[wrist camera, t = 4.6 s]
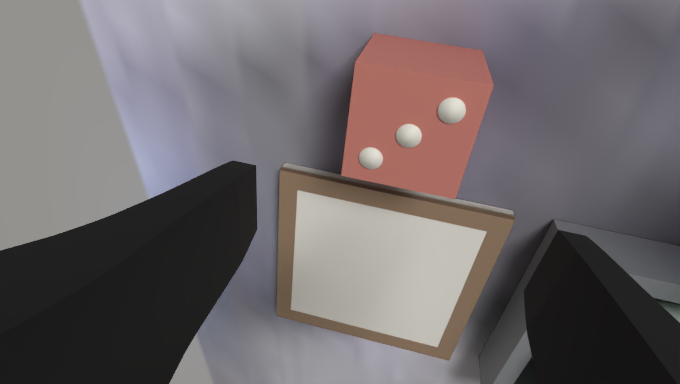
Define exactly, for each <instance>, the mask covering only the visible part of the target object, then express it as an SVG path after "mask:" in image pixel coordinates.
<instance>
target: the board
mask: <svg viewBox="0 0 680 384" xmlns="http://www.w3.org/2000/svg"><path fill="white" fill-rule="evenodd" d="M514 222H515V218H514V214H513V211H512V210H507V209H502V208H498V207H493V206H488V205H483V204H479V203H474V202H469V201H464V200H460V199H451V198H446V197H441V196H436V195H432V194H427V193H422V192H417V191H412V190H408V189H403V188H398V187H393V186H388V185H384V184H379V183H374V182H369V181H364V180H359V179H355V178H350V177H345V176H341V174H336V173H332V172H327V171H322V170H317V169H313V168H308V167H303V166H299V165H294V164H289V163H284V165H283V166H282V168H281V169H280V182H279V225H278V269H277V312H276V316H279V317H283V318H287V319H290V320H294V321H298V322H302V323H306V324H310V325H314V326H317V327H321V328H325V329H329V330H333V331H337V332H341V333H344V334H348V335H352V336H356V337H360V338H364V339H368V340H371V341H375V342H379V343H383V344H387V345H391V346H395V347H398V348H402V349H406V350H410V351H414V352H418V353H422V354H425V355H429V356H433V357H437V358H441V359H445V360H450V358H451V355H452V353H453V351H454V349H455V347H456V345H457V343H458V341H459V338H460V336H461V334H462V332H463V330H464V328H465V326H466V324H467V322H468V319H469V317H470V315H471V313H472V311H473V309H474V307H475V305H476V302H477V300H478V298H479V296H480V294H481V292H482V290H483V288H484V286H485V283H486V281H487V279H488V277H489V275H490V273H491V271H492V269H493V267H494V264H495V262H496V260H497V258H498V256H499V254H500V252H501V250H502V247H503V245H504V243H505V241H506V239H507V237H508V235H509V233H510V231H511V228H512V226H513V224H514Z"/></svg>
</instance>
